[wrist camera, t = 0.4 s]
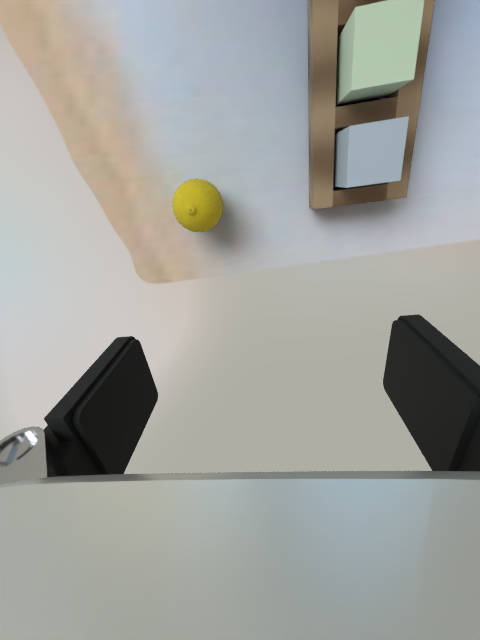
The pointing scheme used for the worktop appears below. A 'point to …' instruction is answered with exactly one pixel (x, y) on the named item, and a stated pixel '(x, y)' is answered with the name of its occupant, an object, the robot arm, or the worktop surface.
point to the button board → (325, 119)
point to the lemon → (197, 205)
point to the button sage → (378, 49)
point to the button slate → (370, 153)
